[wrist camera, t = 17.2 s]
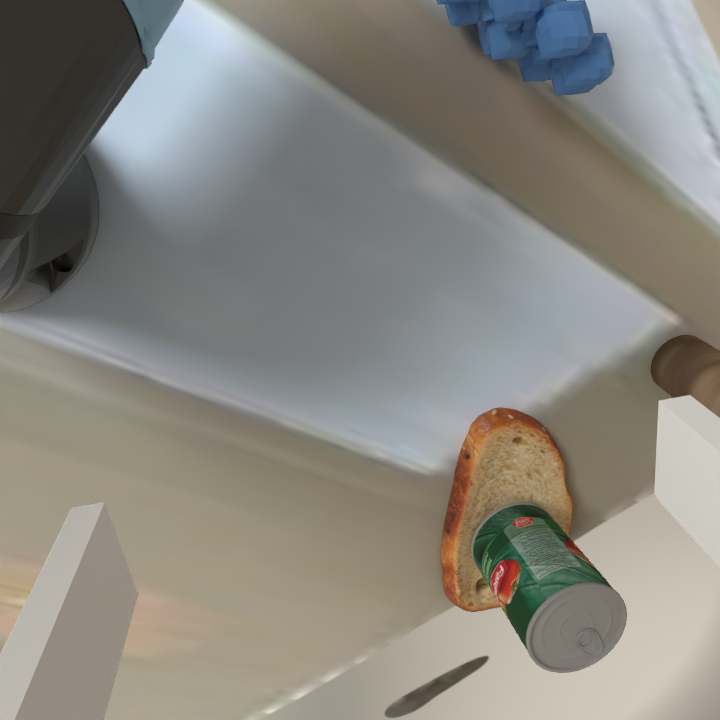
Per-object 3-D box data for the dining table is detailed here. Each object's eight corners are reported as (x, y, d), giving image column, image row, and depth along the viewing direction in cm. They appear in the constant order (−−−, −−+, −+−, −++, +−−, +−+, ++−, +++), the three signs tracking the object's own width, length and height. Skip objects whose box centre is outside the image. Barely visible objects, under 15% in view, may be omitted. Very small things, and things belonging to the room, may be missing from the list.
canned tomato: (453, 542, 56) (507, 635, 46) (525, 484, 56) (595, 565, 46) (502, 593, 60) (562, 690, 49) (570, 538, 59) (645, 625, 49)
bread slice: (501, 385, 55) (516, 405, 52) (625, 501, 62) (645, 526, 58) (354, 522, 59) (358, 549, 56) (484, 617, 65) (495, 647, 62)
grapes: (594, 28, 45) (697, 12, 34) (530, 115, 46) (608, 127, 35) (463, -95, 41) (531, -159, 30) (398, 5, 43) (440, -20, 32)
